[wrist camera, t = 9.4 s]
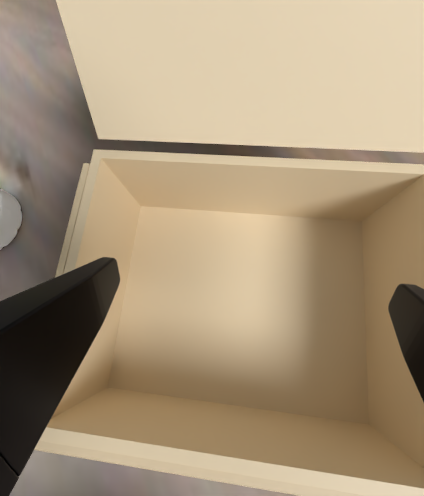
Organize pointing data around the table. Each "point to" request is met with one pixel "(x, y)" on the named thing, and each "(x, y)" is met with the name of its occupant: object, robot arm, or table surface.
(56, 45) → the table surface
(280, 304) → the carton
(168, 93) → the far flap
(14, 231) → the water bottle
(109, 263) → the robot arm
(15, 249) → the table surface
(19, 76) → the table surface
